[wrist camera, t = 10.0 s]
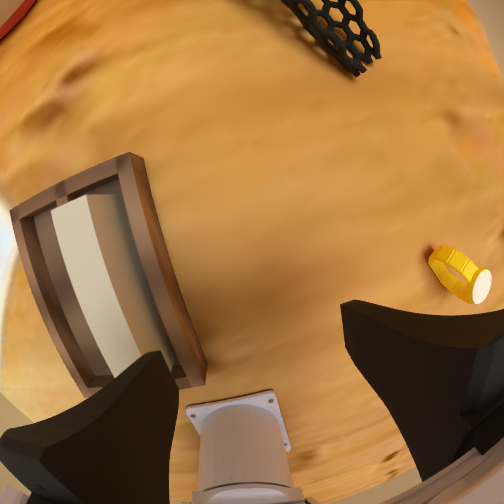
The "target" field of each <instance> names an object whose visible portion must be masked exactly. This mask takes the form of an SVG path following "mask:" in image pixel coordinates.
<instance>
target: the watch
mask: <svg viewBox="0 0 504 504" xmlns="http://www.w3.org/2000/svg"><path fill="white" fill-rule="evenodd" d="M444 263H445V264H448V265H449V266H450V267H452V268H453V269H454V270H456V271H457V272H458V273H460V274H461V275H462V276H463V277H464V279H465V280H466V281H467V282H468V283H469V284H468V286H467V285H465V284H464V283H462V282H461V281H459V280H458V279H457V278H456V277H455V276H454V275H453V274H452V273H451V272H450V271H449V270H448V268H447V267H446V265H445V264H444ZM428 264H429V266H430V267H431V269H432V270H433V271H434V273H435V274H436V276H437V278H438V279H439V282H441V284H442V285H443V286H444V287H445V288H447V289H448V290H449V291H451V293H452V294H454V295H455V296H456V297H458V298H459V299H461V300H463V301H465V302H467V303H470V304H479V303H481V302H482V301H483V300H484V299H485V298H486V296H487V294H488V292H489V289H490V286H491V273H490V271H489V270H488V269H486V268H483V267H479V268H478V267H477V266H476V265H475V264H474V263H473V262H472V261H471V260H470V259H469V258H468V257H467V256H465V255H464V254H462V253H461V252H459V251H458V250H456V249H454V248H451V247H448V246H446V245H445V246H444V245H442V246H438V247H436V249H435V250H434V251H433V253H432V254H431V256H430V257H429V260H428Z"/></svg>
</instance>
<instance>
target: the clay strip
mask: <svg viewBox="0 0 504 504" xmlns="http://www.w3.org/2000/svg"><path fill="white" fill-rule="evenodd" d="M51 214H52V219H53V223H54V227H55V231H56V235H57V238H58V242H59V245H60V249H61V252H62V256H63V259H64V262H65V265H66V268H67V271H68V274H69V277H70V280H71V283H72V286H73V288H74V291H75V294H76V296H77V299H78V301H79V304H80V306H81V309H82V311H83V314H84V316H85V318H86V321H87V323H88V325H89V328H90V330H91V332H92V334H93V336H94V338H95V341H96V343H97V345H98V347H99V349H100V351H101V353H102V355H103V357H104V359H105V361H106V363H107V364H108V366H109V368H110V370H111V372H112V374H113V375H114V377H115V378H116V377H117V376H118V375H119V374H120V373H122V372H123V371H124V370H125V369H126V368H127V367H129V366H130V365H131V364H132V363H133V362H135V361H136V360H137V359H138V358H139V357H141V356H142V355H144V354H145V353H147V352H152V351H158V350H161V352H162V355H163V357H164V359H165V361H166V363H167V365H168V367H169V370H170V372H171V370H172V367H173V363H174V360H175V357H176V354H175V352H174V349H173V347H172V345H171V342H170V340H169V337H168V335H167V333H166V330H165V328H164V325H163V323H162V320H161V318H160V315H159V312H158V310H157V307H156V304H155V302H154V299H153V296H152V294H151V291H150V288H149V285H148V282H147V279H146V276H145V273H144V270H143V267H142V264H141V261H140V258H139V255H138V252H137V248H136V245H135V242H134V238H133V235H132V231H131V228H130V224H129V221H128V217H127V213H126V209H125V205H124V201H123V197H122V194H99V195H84V196H82V197H79V198H77V199H75V200H73V201H70V202H68V203H66V204H64V205H62V206H59V207H57V208H55V209H53V210H51Z"/></svg>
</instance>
